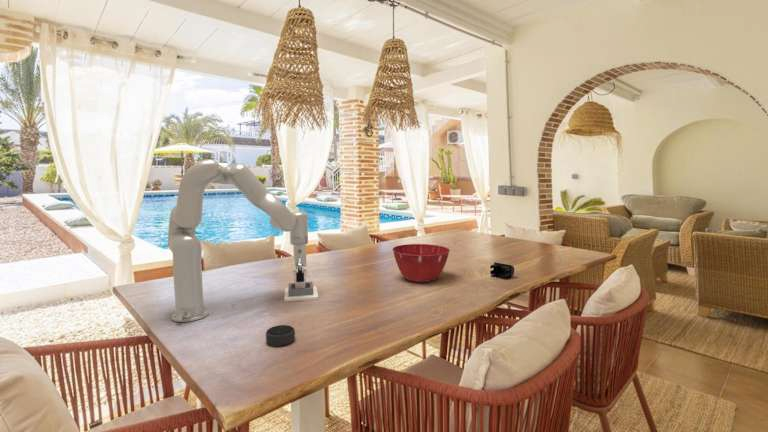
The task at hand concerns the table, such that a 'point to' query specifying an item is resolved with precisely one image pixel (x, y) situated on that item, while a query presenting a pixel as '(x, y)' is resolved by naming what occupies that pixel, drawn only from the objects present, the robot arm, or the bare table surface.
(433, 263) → the mixing bowl
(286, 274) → the table surface
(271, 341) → the smart speaker
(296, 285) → the smoothie
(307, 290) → the socket board
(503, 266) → the end cap
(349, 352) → the table surface
